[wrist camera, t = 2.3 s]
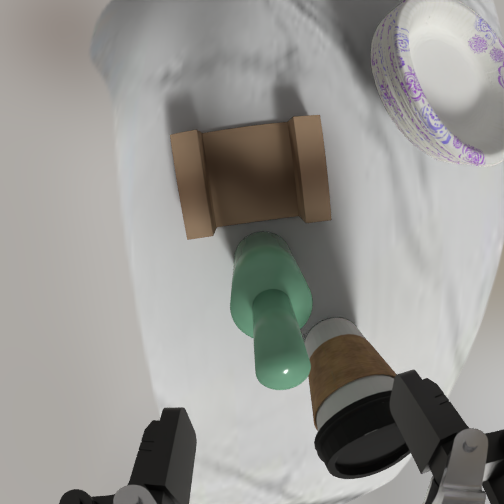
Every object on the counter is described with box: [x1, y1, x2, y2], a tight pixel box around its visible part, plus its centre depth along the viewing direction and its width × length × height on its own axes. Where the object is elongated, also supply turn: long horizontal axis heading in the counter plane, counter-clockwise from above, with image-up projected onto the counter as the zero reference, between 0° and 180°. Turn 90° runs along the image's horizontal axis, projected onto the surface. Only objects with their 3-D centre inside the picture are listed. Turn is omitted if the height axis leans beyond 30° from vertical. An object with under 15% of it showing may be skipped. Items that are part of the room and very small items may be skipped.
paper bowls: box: [371, 0, 504, 167], centre depth 18 cm, size 15×15×8 cm
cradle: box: [170, 115, 331, 240], centre depth 23 cm, size 8×11×3 cm
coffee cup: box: [304, 318, 411, 479], centre depth 22 cm, size 8×8×15 cm
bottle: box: [230, 232, 313, 390], centre depth 19 cm, size 5×5×15 cm
